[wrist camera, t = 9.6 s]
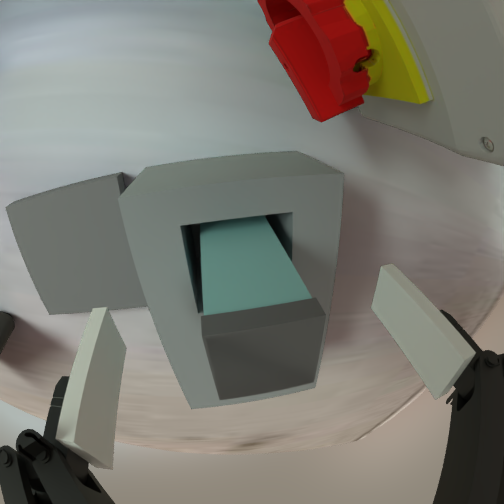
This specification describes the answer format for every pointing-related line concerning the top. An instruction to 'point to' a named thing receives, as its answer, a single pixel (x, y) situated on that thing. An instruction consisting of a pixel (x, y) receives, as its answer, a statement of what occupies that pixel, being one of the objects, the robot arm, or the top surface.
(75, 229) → the block
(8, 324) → the dark grey curved block
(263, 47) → the top surface
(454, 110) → the electrical switch box
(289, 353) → the plug
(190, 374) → the junction block
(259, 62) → the top surface
